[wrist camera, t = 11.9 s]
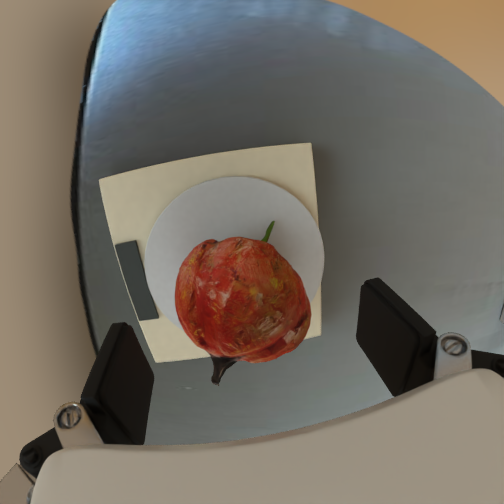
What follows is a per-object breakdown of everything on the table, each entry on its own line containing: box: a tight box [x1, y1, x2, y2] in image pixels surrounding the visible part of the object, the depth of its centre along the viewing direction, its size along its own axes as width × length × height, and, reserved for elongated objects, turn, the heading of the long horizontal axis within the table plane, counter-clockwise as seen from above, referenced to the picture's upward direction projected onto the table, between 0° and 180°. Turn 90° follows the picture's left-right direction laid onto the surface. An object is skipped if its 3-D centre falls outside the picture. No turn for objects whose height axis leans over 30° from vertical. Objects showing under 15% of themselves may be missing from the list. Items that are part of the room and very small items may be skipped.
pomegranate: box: [175, 221, 312, 386], centre depth 15 cm, size 7×7×10 cm
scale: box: [99, 143, 324, 363], centre depth 19 cm, size 15×14×3 cm
